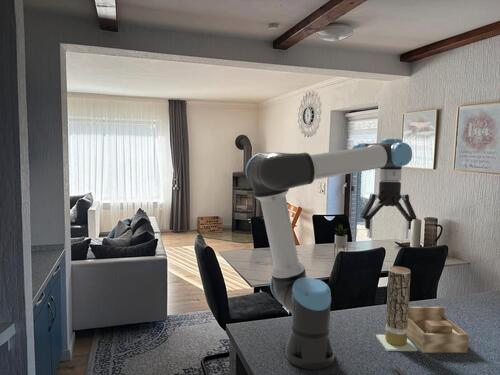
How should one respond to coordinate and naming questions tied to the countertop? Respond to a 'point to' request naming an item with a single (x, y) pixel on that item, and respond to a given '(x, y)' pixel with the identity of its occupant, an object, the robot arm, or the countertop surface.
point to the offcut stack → (438, 327)
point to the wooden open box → (434, 340)
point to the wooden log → (397, 305)
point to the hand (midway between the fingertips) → (387, 237)
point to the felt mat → (390, 347)
